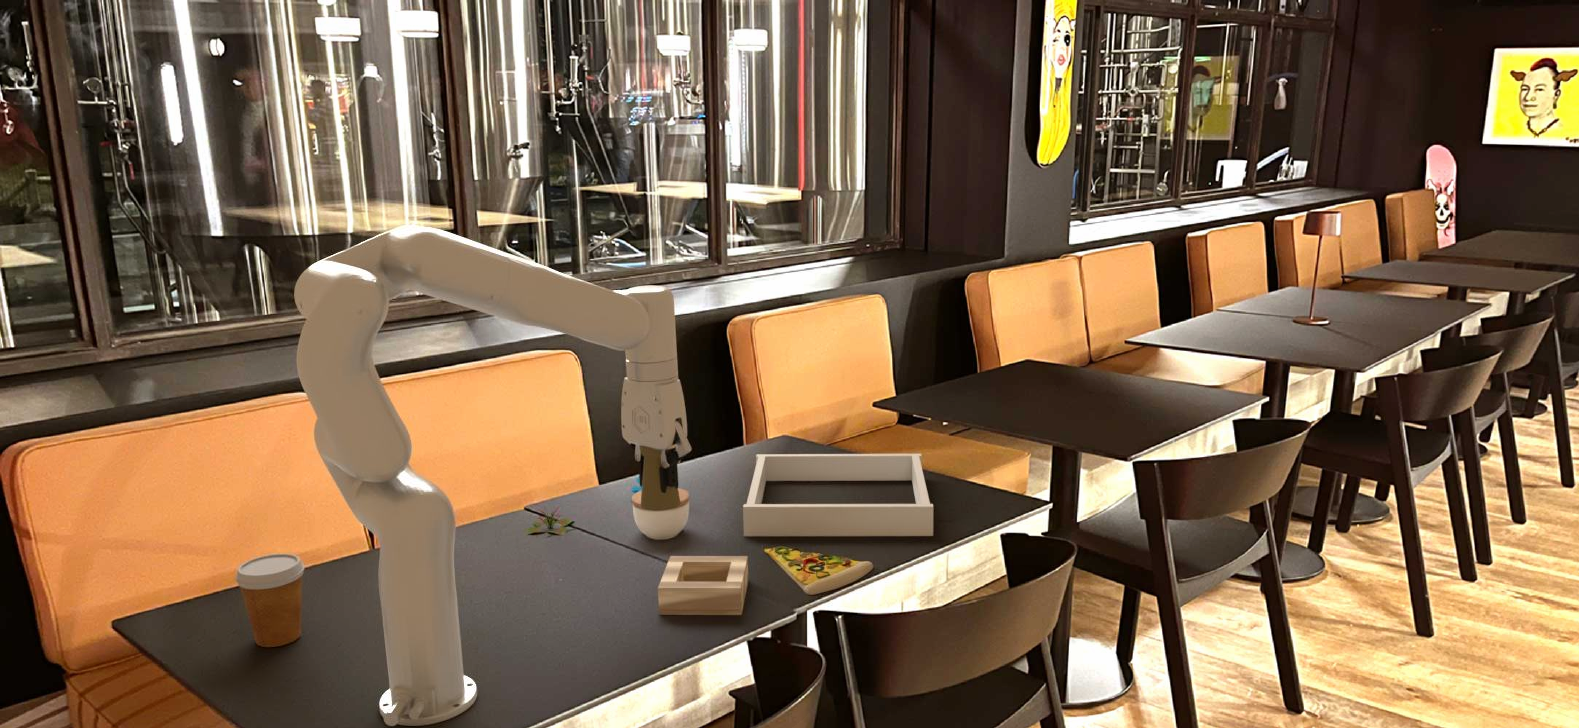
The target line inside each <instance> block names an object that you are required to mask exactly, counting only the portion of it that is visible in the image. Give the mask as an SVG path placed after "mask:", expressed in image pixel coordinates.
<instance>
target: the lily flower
mask: <svg viewBox="0 0 1579 728" xmlns="http://www.w3.org/2000/svg"><path fill="white" fill-rule="evenodd" d="M542 508H544V510H546V508H545V506H543V507H542ZM552 508H553V507H551V510H552ZM559 508H560V506H557V507H556V509H555V510H554V511H551V512H550V513H548V511H545V512H544V511H543V510H541V509H540V508H539V509H537V511H539V512H541V513H542V514H543V515H544V516H545V518H544V517H543V516H541V515H539V517H538V519H539V520H540V521H541V522H538V521H534V522H533V524H534V525H535V526H533V527H530V528H527V529H524V530H526V531H525V532H524V534H526V535H527V534H533V533H545V532H546V533H551V535H550V534H549V535H548V536H546V538H549V537H550V536H552V533H554V534H556V535H559V536H562V534H563V535H567V531H569V530H568V529H567V527H566V526H568V525H569V524H571V523H573V522H574V521H573V519H570V518H561V519H559V518H560V517H562V515H561V514H560V515H559V513H556V514H555V512H557V511H558V509H559ZM549 514H550V515H549ZM557 519H558V520H557ZM543 524H545V526H546V527H547V528H548V529H550V528H551V529H552V528H553V527H554V525H555V524H561V526H560V528H559V529H558V530H553V531H552V530H550V531H549V530H548V531H546V530H539V529H540V527H541V526H543ZM572 526H573V527H577V525H576V524H572ZM571 530H573V529H570V531H571ZM535 536H536V538H539V536H540V535H538V534H536V535H535Z"/></svg>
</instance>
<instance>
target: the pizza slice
mask: <svg viewBox="0 0 1579 728" xmlns="http://www.w3.org/2000/svg"><path fill="white" fill-rule="evenodd" d="M764 553H766V554H768V556H769V557H770V558H771V559H772V560H773V561H774V562H775V563H776V564H777V565H778V566H779V567H780V568H781V569H782V571H784V572H785V573H786V574H787V575H788V576H789V577H790V579H792V581H794V582H795V583H796V584H797V585H798V586H799V587H800V588H801V589H802V590H803V592H804V593H805V594H806V595H809V596H810V595H811V596H813V595H818V594H821V593H825V592H829V591H833V590H836V589H839V588H842V587H845V586H846V585H849V584H852V583H853V582H855V581H858V580H859V579H862V578H863V577H864V576H866V575H867V574H869V573H870V572H871V571H872V570H873V569H874V565H873V563H872V562H871V561H869V560H868V561H867V560H866V561H865V560H864V561H859V560H853V559H851V558H849V557H843V556H838V557H837V556H835V555H834V554H832V553H831V554H830V553H823V554H821V553H820V552H819V553H816V552H803V551H802V550H801V549H800V548H798V547H796V548H789V547H787V546H782V545H780V546H777V547H772V548H764Z"/></svg>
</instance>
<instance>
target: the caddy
mask: <svg viewBox="0 0 1579 728" xmlns="http://www.w3.org/2000/svg"><path fill="white" fill-rule="evenodd" d="M748 557H749V556H748V555H670V557H669V559H668V561H667V564H666V567H665V569H664V572H663V574H662V577H661V580H660V581H659V584H658V587H657V595H658V598H657V599H658V600H657V601H658V615H659V616H665V615H666V616H670V615H671V616H674V615H677V616H687V615H688V616H742V614H743V610H744V606H745V605H744V604H745V599H746V594H747V589H748V583H749V562H748V561H749V558H748Z"/></svg>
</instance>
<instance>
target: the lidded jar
mask: <svg viewBox="0 0 1579 728" xmlns="http://www.w3.org/2000/svg"><path fill="white" fill-rule="evenodd" d="M678 492H679V497H680V502H681V503H680V505H679V506H677V507H675V508H673V509H669V510H663V511H651V510H646V509H643V508H642V507H641V493H642V490H641V491H639V492H637V493H633V496H632V495H631V497H632V500H631V504H632V514H633V520H634V521H635V524H636V526H637V528H638V529H639V530H640V532H641V533H642V534H644V535H645V536H646V537H647V538H649V539H652V540H658V541H659V540H668V539H672V538H674V537H677V536H678V535H679V534H680V533H681V532H682V531H683V530H684V528H686V527H685V526H686V525H687V522H688V520H689V515H690V496H691V495H690V493H689V492H688V491H687V490H685V489H683V488H679V487H678Z"/></svg>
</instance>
